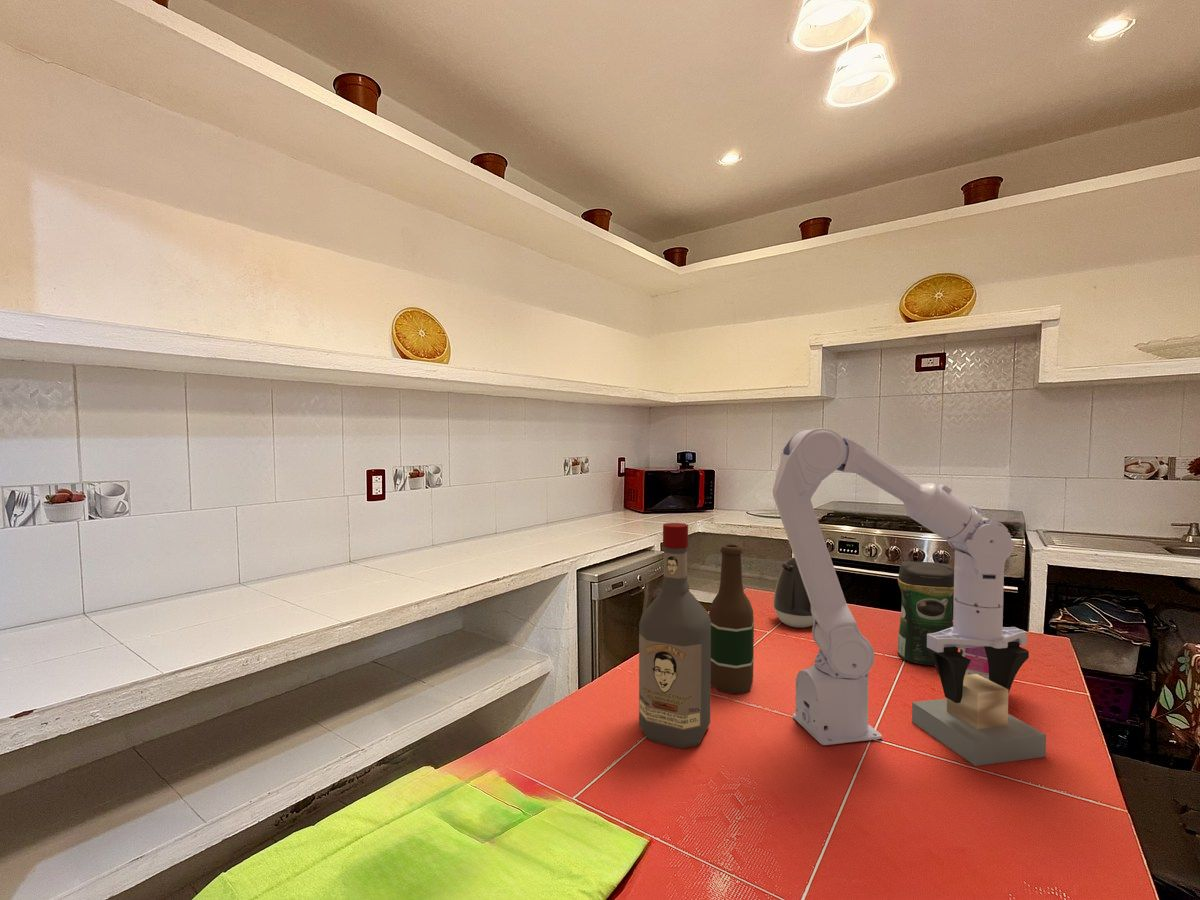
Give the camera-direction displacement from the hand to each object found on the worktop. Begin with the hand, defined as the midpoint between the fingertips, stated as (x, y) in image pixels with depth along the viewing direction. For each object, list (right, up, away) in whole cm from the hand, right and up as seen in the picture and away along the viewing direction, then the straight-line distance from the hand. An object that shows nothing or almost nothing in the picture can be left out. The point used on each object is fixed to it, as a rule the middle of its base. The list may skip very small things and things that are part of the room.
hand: (975, 697), depth 77 cm
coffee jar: (+9, -5, +27) cm, 29 cm away
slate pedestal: (0, -6, 0) cm, 6 cm away
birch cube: (0, -3, 0) cm, 3 cm away
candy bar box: (+9, -6, +12) cm, 16 cm away
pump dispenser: (-9, -5, +46) cm, 47 cm away
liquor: (-42, -6, +3) cm, 43 cm away
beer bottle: (-31, -6, +17) cm, 35 cm away
